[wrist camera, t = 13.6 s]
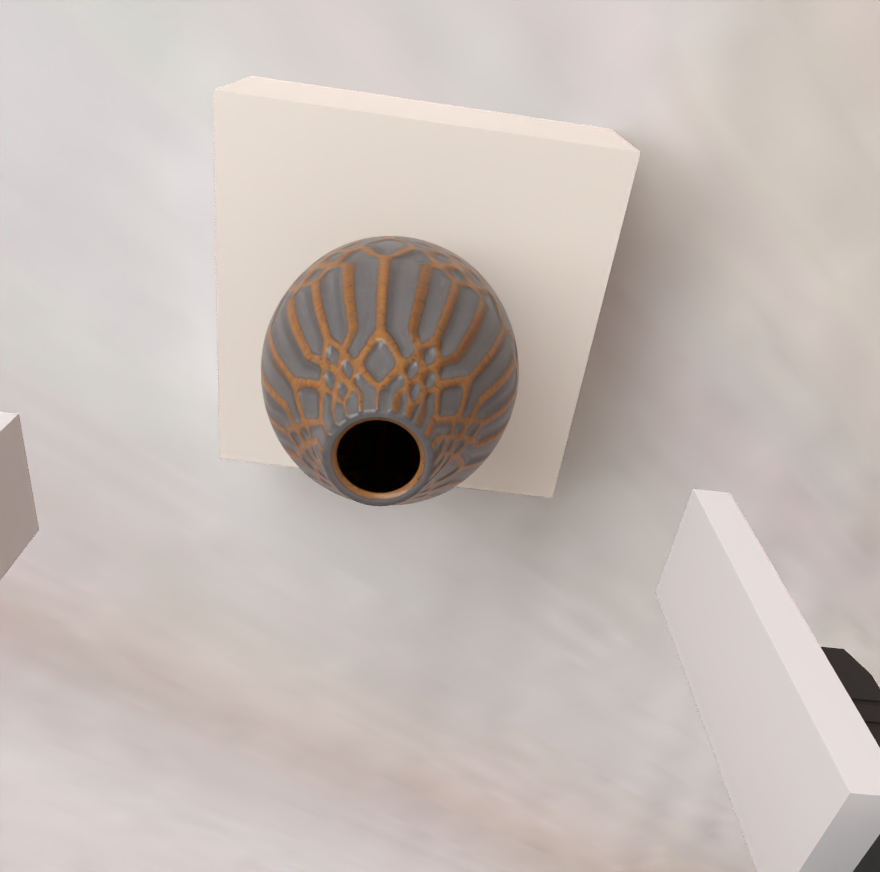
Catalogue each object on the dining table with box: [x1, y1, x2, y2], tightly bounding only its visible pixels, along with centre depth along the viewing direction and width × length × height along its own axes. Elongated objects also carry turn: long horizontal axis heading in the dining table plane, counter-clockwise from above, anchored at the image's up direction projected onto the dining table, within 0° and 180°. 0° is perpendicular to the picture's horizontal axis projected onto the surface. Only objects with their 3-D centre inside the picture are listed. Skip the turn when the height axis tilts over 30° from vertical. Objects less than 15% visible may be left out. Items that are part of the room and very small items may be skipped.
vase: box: [261, 236, 519, 506], centre depth 20 cm, size 7×7×9 cm
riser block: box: [213, 76, 641, 498], centre depth 26 cm, size 12×12×5 cm
